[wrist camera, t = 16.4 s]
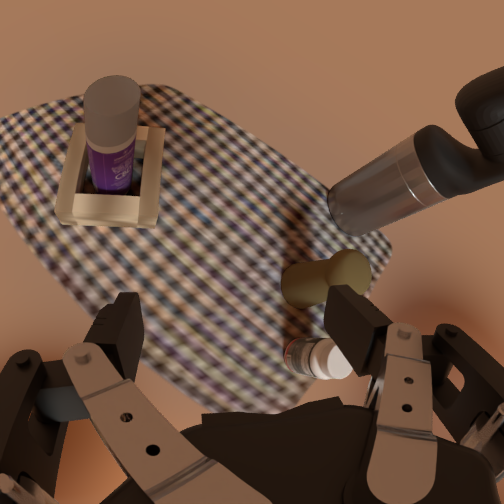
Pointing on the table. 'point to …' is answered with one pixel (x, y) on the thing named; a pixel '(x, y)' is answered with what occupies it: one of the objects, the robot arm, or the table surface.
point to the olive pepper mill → (325, 278)
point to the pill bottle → (316, 358)
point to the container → (111, 132)
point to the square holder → (111, 206)
